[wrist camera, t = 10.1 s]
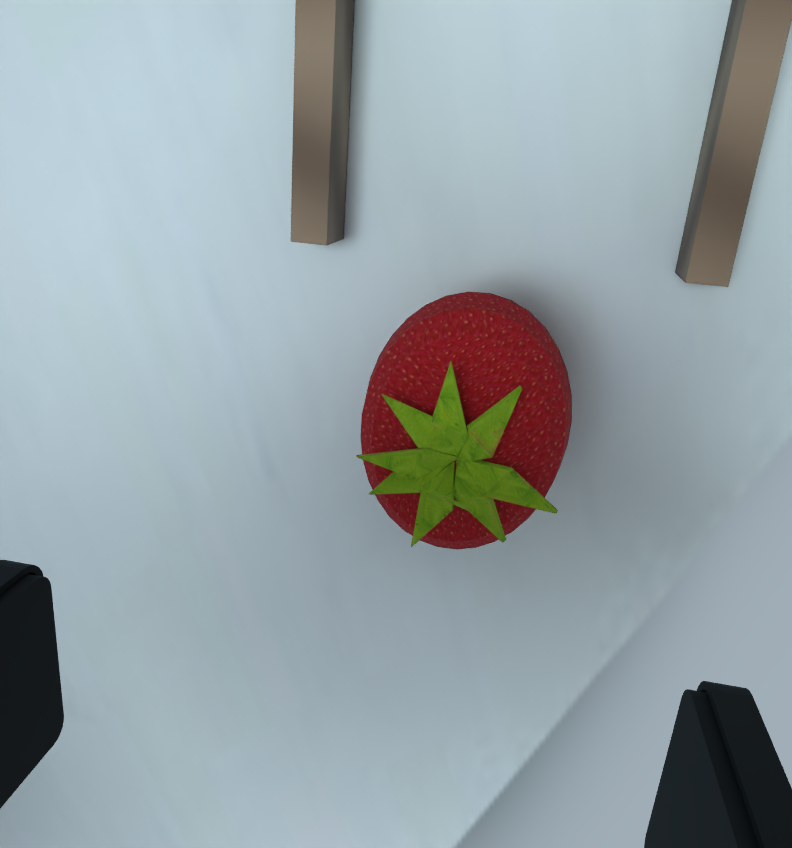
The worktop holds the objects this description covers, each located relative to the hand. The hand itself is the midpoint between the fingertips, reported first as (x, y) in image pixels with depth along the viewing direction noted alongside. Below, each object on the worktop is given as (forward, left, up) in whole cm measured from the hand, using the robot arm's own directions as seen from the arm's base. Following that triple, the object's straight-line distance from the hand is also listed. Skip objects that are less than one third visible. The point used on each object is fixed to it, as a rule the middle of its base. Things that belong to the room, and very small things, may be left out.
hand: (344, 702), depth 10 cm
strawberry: (0, 0, -17) cm, 17 cm away
